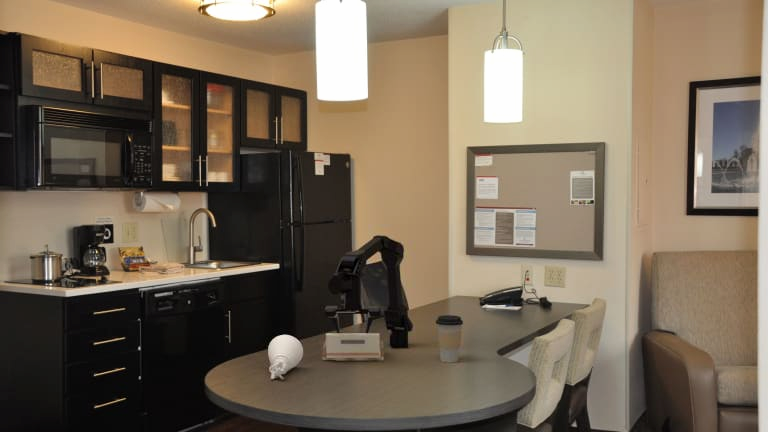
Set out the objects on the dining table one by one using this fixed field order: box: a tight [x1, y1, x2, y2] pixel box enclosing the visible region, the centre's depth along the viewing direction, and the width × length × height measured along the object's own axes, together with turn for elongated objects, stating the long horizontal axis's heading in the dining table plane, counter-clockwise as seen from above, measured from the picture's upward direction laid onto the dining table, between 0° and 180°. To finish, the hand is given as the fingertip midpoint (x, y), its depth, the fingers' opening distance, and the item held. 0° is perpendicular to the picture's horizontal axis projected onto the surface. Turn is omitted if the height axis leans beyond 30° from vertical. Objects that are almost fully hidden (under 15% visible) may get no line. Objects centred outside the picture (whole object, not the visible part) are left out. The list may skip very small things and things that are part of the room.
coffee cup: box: [435, 314, 464, 363], centre depth 248 cm, size 9×9×15 cm
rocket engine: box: [267, 334, 304, 379], centre depth 229 cm, size 12×12×18 cm
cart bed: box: [321, 340, 385, 361], centre depth 254 cm, size 21×12×4 cm, turn 91°
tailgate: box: [325, 332, 381, 358], centre depth 245 cm, size 18×2×9 cm, turn 91°
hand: (352, 336), depth 245 cm, fingers open, 9 cm apart
